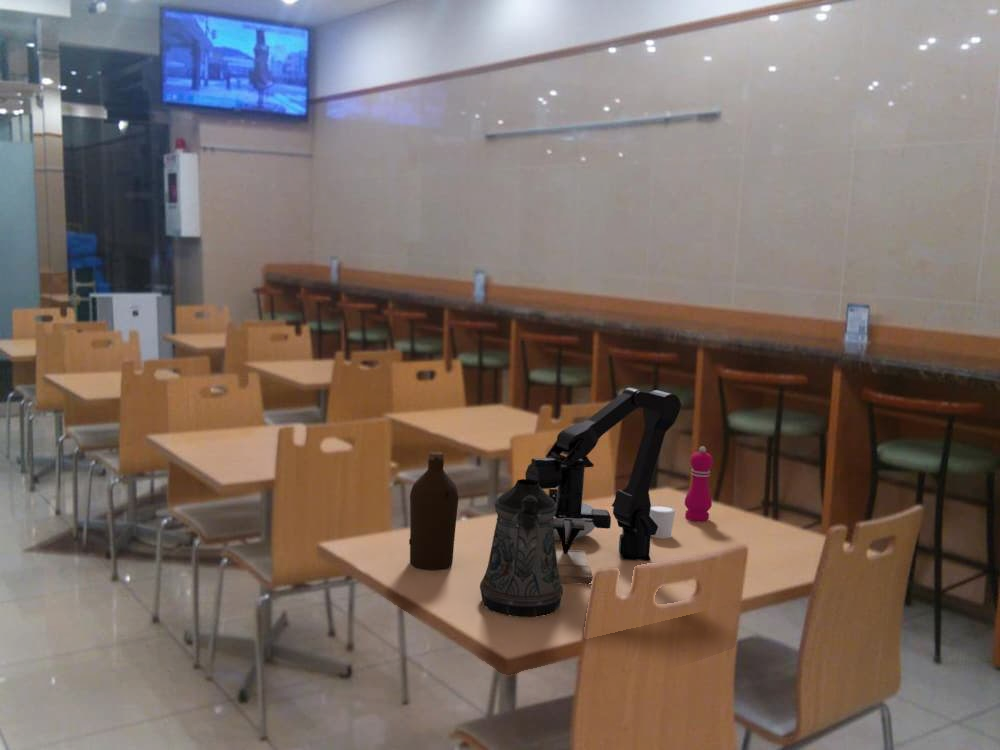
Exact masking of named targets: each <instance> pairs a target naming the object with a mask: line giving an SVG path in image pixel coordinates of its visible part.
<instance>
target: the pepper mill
mask: <svg viewBox="0 0 1000 750" xmlns="http://www.w3.org/2000/svg"><path fill="white" fill-rule="evenodd" d="M698 450H699V451H696V452H694V453H693V454H692V455H691V456H690V460H689V461H690V462H689V463H690V466H691V467H692V469H690V471H691V472H690V474H691V475H692V480H691V485H690V487H689V489H688V491H687V493H686V495H685V499H684V505H685V508H686V509H687V510H685V516H684V517H685V518H686V519H687V520H688V521H691V520H692V521H693V522H697V521H705V522H708V521H709V520H708V519H709V518H710V513H709V512H708V511H709V510H711V508H712V505H713V503H712V502H713V501H712V497H711V494H710V490H709V485H708V483H709V481H708V480H709V477H710V476H711V474H710V473H711V468H713V466H714V465H713V463H714V460H713V457H712V455H711V454H710V453H708V452H706V450H707V448H706V447H705V446H703V445H702V446H700V447H699V448H698ZM707 520H708V521H707Z"/></svg>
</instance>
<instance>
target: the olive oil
mask: <svg viewBox="0 0 1000 750" xmlns="http://www.w3.org/2000/svg"><path fill="white" fill-rule="evenodd" d="M428 456H429V458H428V459H427V460H428V461H427V462H428V463H427V464H428V465H427V470H426V471H425V472H424V473H423V474H422V475H420V477H419V478H418V479H417V480H416V481H415V482H414V483H413V485H412V487H411V490H410V492H409V493H410V494H409V540H408V541H409V543H408V545H409V563H410V565H411V566H412V567H414V568H417V569H419V570H426V571H441V570H442V571H443V570H446V569H448V568H451V567H452V565H453V562H454V561H453V559H454V547H455V537H456V536H455V535H456V528H457V527H456V525H457V518H458V507H459V498H460V496H459V491H458V487H457V485H456V484H455V483H454V481H453V479H451V478H450V476H449V475H448V474H447V472H446V471H445V470H444V463H445V459H444V452H442V451H436V450H435V451H429V454H428Z"/></svg>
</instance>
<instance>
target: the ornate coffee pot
mask: <svg viewBox="0 0 1000 750" xmlns="http://www.w3.org/2000/svg"><path fill="white" fill-rule="evenodd" d="M494 501H495V502H494V509H495V513H496V514H497V517H496V523H495V528H494V532H493V537H492V543H491V548H490V552H489V558H488V564H487V567H486V570H485V573H484V576H483V578H482V579H481V582H480V585H479V589H480V594H481V601H482V604H483V607H485V606H486V607H485V608H487V609H488V610H489V609H490V611H491V610H492V611H491V612H494V611H495V612H494V613H497V612H498V613H497V614H499V613H501V614H500V615H502V614H504V615H503V616H509V615H511V617H516V616H517V618H535V617H536V616H538V617H543V615H545V616H548V615H551V614H553V613H556V612H557V611H558V609H559V608H560V605H561V602H562V598H563V593H564V588H563V583H561V581H560V577H559V572H558V566H557V557H556V539H555V537H554V525H553V518H554V516H555V514H556V511H557V505H556V503H555V501H554V500H553V499H552V498H551V497H550V496H549V493H547V492H546V491H545V489H542V488H541V487H540V486H539V483H538V481H536V480H531V479H526V478H521V479H517V480H516V483H515V484H514V486H512V487H511V488H509V490H506V491H505V492H503V493H502V494H501V495H499V496H498V498H497V499H495V500H494ZM556 610H557V611H556ZM555 611H556V612H555ZM550 613H551V614H550ZM547 614H548V615H547Z"/></svg>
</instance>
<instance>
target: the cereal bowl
mask: <svg viewBox="0 0 1000 750" xmlns="http://www.w3.org/2000/svg"><path fill="white" fill-rule="evenodd" d="M592 509H597V508H596V507H595V506H593V505H591V504H588V503H585V502H582V509H581V513H591V511H592ZM569 524H570V521H567V520H564V525H565V538H566V541H567V536H568V531H569ZM595 528H596V527H595V526H594V524H593V522H585V524H584V530H583V531H582V530H581V531H579V533H578V534H577V536H576V537H575V540H577V539H579V538H580V537H583V536H587V535H588V534H590V533H592V532H593V531H594V529H595ZM554 537H555V540H557V539H558V540H557V541H561V540H560V537H559V535H558V532H557V530H556V529H554Z"/></svg>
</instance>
